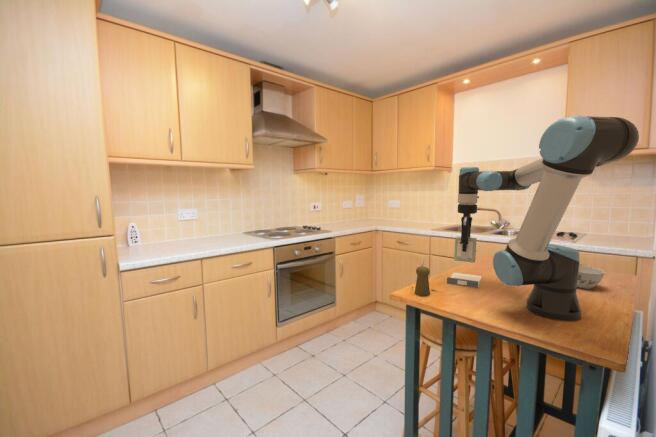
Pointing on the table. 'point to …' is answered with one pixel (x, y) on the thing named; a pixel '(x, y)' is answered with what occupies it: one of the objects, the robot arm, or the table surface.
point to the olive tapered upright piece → (422, 282)
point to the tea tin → (470, 250)
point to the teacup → (589, 277)
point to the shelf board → (464, 280)
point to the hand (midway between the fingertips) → (464, 257)
